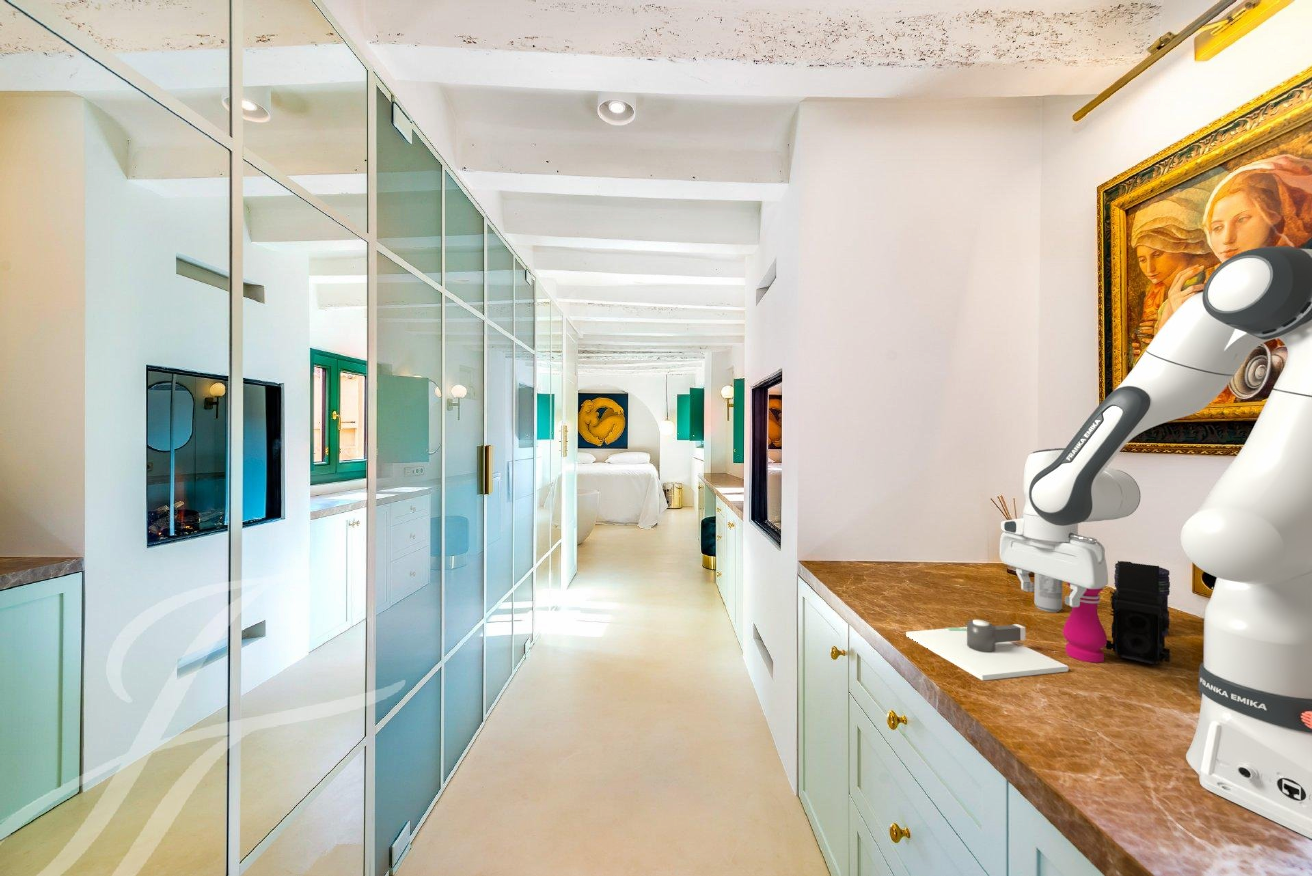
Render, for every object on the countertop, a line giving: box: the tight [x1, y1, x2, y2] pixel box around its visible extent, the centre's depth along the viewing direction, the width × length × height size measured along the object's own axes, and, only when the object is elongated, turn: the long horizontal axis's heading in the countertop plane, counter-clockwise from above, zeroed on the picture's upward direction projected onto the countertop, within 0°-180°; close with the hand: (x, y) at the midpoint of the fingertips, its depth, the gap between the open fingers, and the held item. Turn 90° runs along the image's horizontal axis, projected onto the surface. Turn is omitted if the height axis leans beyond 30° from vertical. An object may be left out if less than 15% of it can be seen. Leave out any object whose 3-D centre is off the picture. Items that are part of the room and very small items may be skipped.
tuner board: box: [905, 626, 1069, 681], centre depth 112 cm, size 22×20×1 cm
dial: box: [966, 619, 1026, 652], centre depth 112 cm, size 13×5×5 cm, turn 101°
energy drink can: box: [1033, 573, 1064, 613], centre depth 139 cm, size 6×6×15 cm
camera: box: [1105, 560, 1171, 666], centre depth 108 cm, size 10×14×20 cm
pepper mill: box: [1062, 582, 1108, 664], centre depth 110 cm, size 7×7×20 cm
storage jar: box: [1113, 562, 1171, 637], centre depth 125 cm, size 10×10×15 cm
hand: (1048, 598), depth 103 cm, fingers open, 8 cm apart
